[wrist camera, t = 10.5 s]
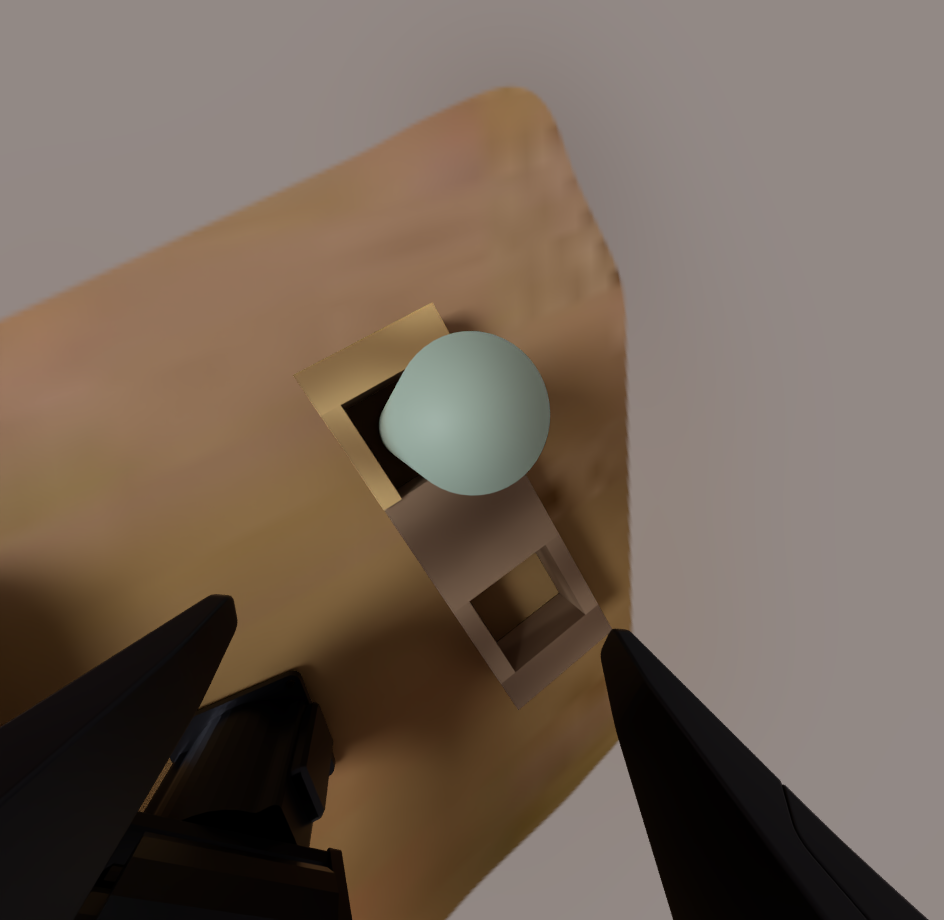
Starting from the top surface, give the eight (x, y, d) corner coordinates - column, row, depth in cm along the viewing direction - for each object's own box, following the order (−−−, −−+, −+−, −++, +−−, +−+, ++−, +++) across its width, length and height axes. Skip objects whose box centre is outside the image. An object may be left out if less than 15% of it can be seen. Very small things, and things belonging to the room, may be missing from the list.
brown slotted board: (583, 607, 24) (615, 632, 21) (499, 675, 23) (520, 714, 20) (422, 323, 20) (432, 302, 17) (305, 385, 19) (293, 375, 15)
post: (418, 471, 21) (494, 525, 8) (364, 434, 20) (357, 433, 7) (453, 420, 21) (576, 398, 8) (402, 383, 20) (457, 295, 8)
